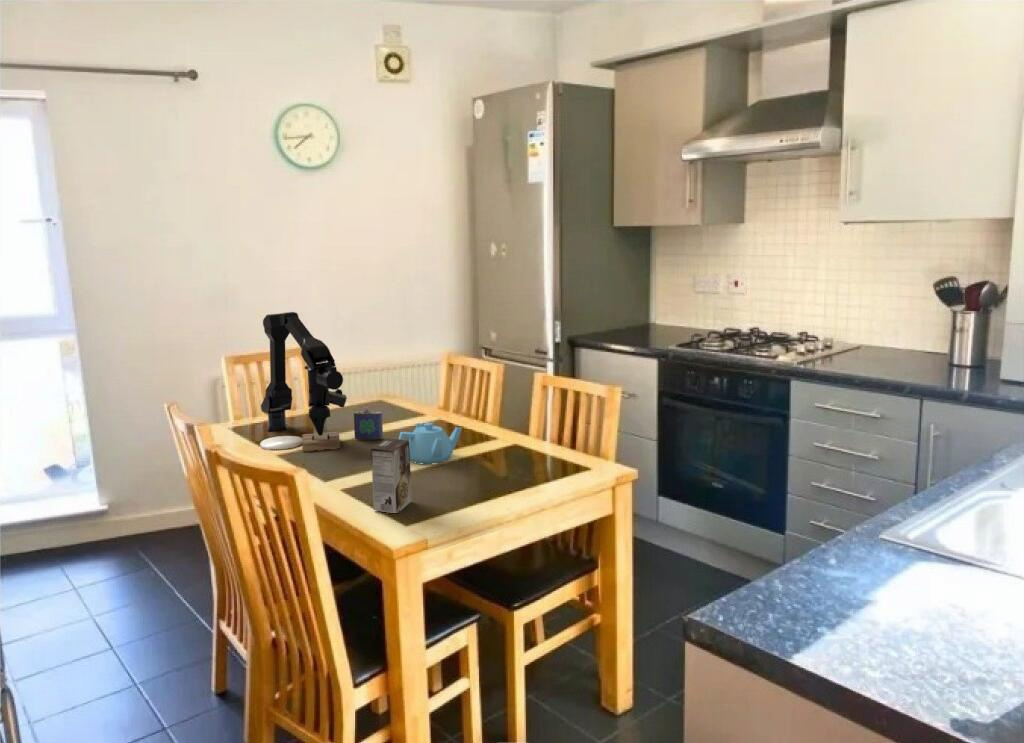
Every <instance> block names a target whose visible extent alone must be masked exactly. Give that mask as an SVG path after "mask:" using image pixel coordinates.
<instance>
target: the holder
mask: <svg viewBox="0 0 1024 743" xmlns="http://www.w3.org/2000/svg"><path fill="white" fill-rule="evenodd" d="M301 436H302V437H301V438H302V447H301V448H302V452H303V451H306V452H315V451H314V450H318V451H325V450H324V449H331V450H338V449H337V448H340V449H341V440H340V434H339V431H331V432H330V431H329V432H328V431H327V439H325V440H314V433H304V434H303V433H302V435H301Z"/></svg>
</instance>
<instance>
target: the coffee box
mask: <svg viewBox="0 0 1024 743" xmlns="http://www.w3.org/2000/svg"><path fill="white" fill-rule="evenodd" d="M370 452H371V455H370V457H371V474H372V475H371V476H372V478H371V479H372V498H373V501H372V502H373V504H372V505H373V511H374V510H377V511H382V512H390V513H398V512H399V511H400V512H401V511H402V510H403V509H404V508H406V507H407V506H408V505H410V503H411V502H412V501H413V500H412V498H413V497H412V478H411V477H412V476H411V461H410V449H409V439H408V440H406V439H405V440H400V439H399V438H389V437H387V438H385V439H384V440H383V439H382V440H381V442H379V443H378V444H376V445H374V446H373V447H371V449H370ZM400 512H399V513H400Z"/></svg>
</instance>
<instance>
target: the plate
mask: <svg viewBox="0 0 1024 743" xmlns="http://www.w3.org/2000/svg"><path fill="white" fill-rule="evenodd" d="M259 444H260V445H259V446H260V448H262V449H264V450H268V449H269V450H271V449H273V450H271V451H279V450H278V449H283V450H289V449H288V448H290V449H294V448H293V447H295V448H298V447H300V446H301V444H302V437H300V436H295V435H279V436H273V437H269V438H266V439H263V440H262V441H261V442H260V443H259ZM299 445H300V446H299ZM297 446H298V447H297ZM274 449H275V450H274ZM276 449H277V450H276Z"/></svg>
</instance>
